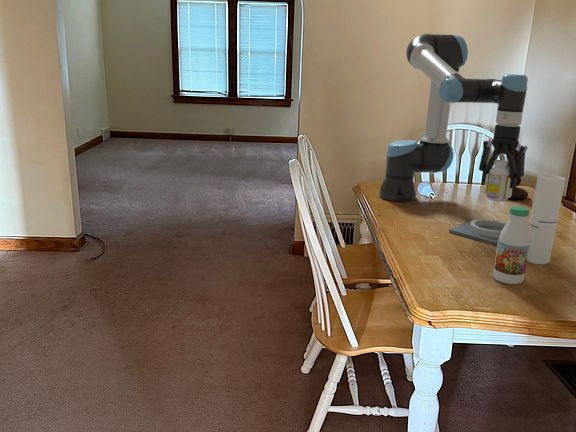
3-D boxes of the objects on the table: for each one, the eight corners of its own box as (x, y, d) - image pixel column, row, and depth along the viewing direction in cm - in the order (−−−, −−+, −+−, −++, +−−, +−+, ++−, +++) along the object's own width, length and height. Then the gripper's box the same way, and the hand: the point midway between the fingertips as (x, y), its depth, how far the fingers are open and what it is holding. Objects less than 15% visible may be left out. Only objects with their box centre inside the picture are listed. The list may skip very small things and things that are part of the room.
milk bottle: (487, 273, 145) (498, 203, 139) (514, 273, 145) (526, 203, 139) (500, 285, 137) (512, 212, 131) (528, 285, 138) (542, 212, 132)
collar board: (448, 232, 178) (450, 223, 177) (477, 221, 191) (478, 213, 190) (506, 248, 164) (507, 239, 163) (533, 235, 177) (534, 227, 176)
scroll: (487, 191, 235) (494, 146, 229) (521, 193, 233) (529, 148, 227) (495, 199, 221) (502, 152, 215) (531, 202, 219) (540, 154, 213)
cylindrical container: (547, 266, 151) (564, 181, 144) (521, 260, 155) (535, 177, 147) (550, 258, 157) (566, 176, 150) (525, 253, 161) (539, 173, 153)
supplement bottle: (503, 197, 177) (509, 159, 173) (509, 202, 170) (516, 163, 167) (483, 196, 177) (489, 158, 174) (488, 201, 171) (494, 162, 167)
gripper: (473, 122, 171) (464, 190, 178) (534, 129, 157) (521, 203, 164) (484, 120, 176) (475, 187, 183) (544, 127, 162) (531, 199, 169)
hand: (497, 194), depth 173 cm, fingers closed on supplement bottle, 7 cm apart
